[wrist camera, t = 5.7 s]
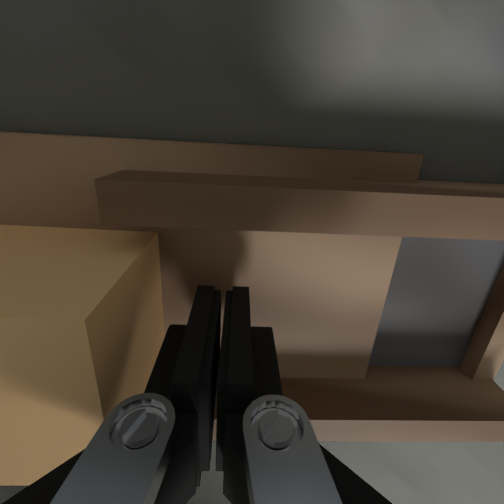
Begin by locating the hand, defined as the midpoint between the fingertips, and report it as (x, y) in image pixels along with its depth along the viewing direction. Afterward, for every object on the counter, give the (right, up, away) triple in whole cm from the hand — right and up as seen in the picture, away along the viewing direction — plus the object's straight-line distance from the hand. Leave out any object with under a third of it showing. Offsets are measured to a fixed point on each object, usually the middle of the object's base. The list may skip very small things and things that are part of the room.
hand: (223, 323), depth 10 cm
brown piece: (+2, +1, +2) cm, 3 cm away
